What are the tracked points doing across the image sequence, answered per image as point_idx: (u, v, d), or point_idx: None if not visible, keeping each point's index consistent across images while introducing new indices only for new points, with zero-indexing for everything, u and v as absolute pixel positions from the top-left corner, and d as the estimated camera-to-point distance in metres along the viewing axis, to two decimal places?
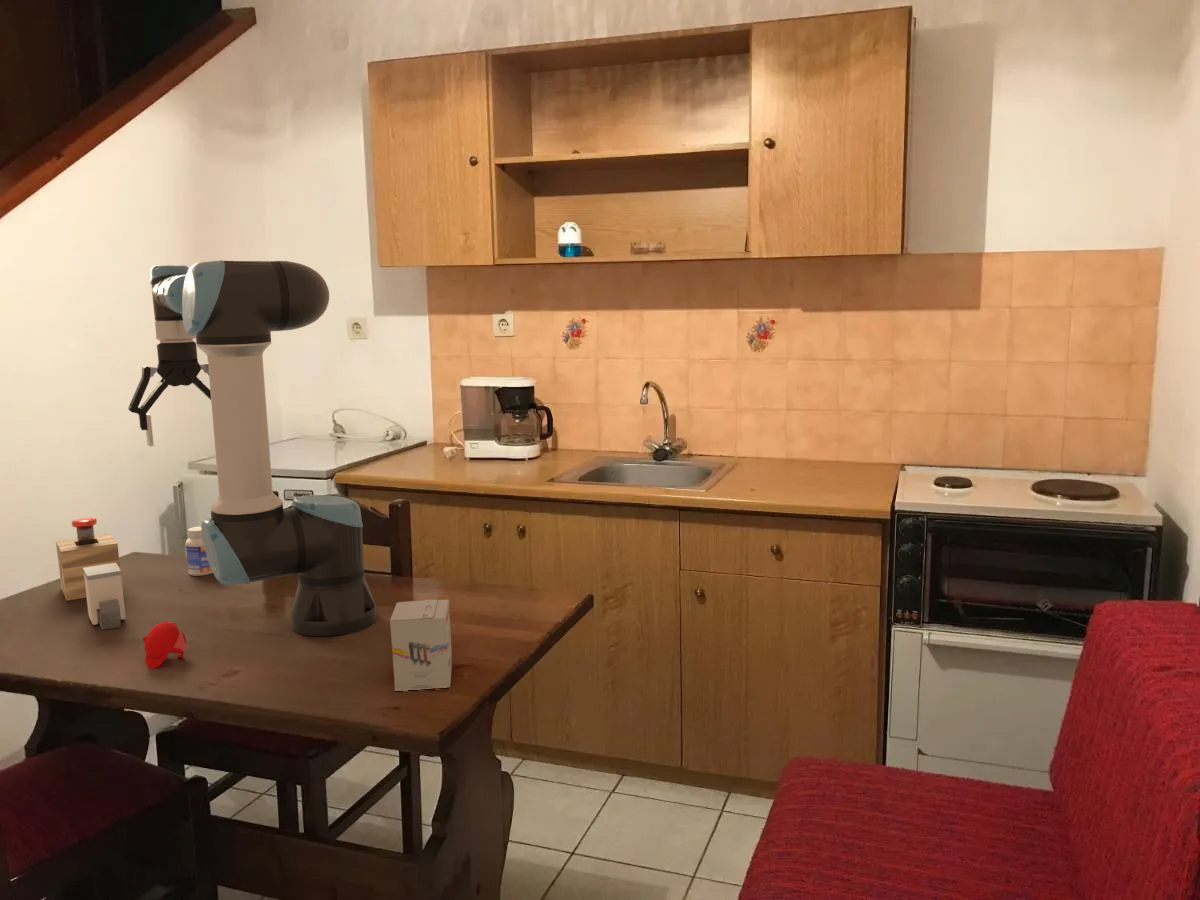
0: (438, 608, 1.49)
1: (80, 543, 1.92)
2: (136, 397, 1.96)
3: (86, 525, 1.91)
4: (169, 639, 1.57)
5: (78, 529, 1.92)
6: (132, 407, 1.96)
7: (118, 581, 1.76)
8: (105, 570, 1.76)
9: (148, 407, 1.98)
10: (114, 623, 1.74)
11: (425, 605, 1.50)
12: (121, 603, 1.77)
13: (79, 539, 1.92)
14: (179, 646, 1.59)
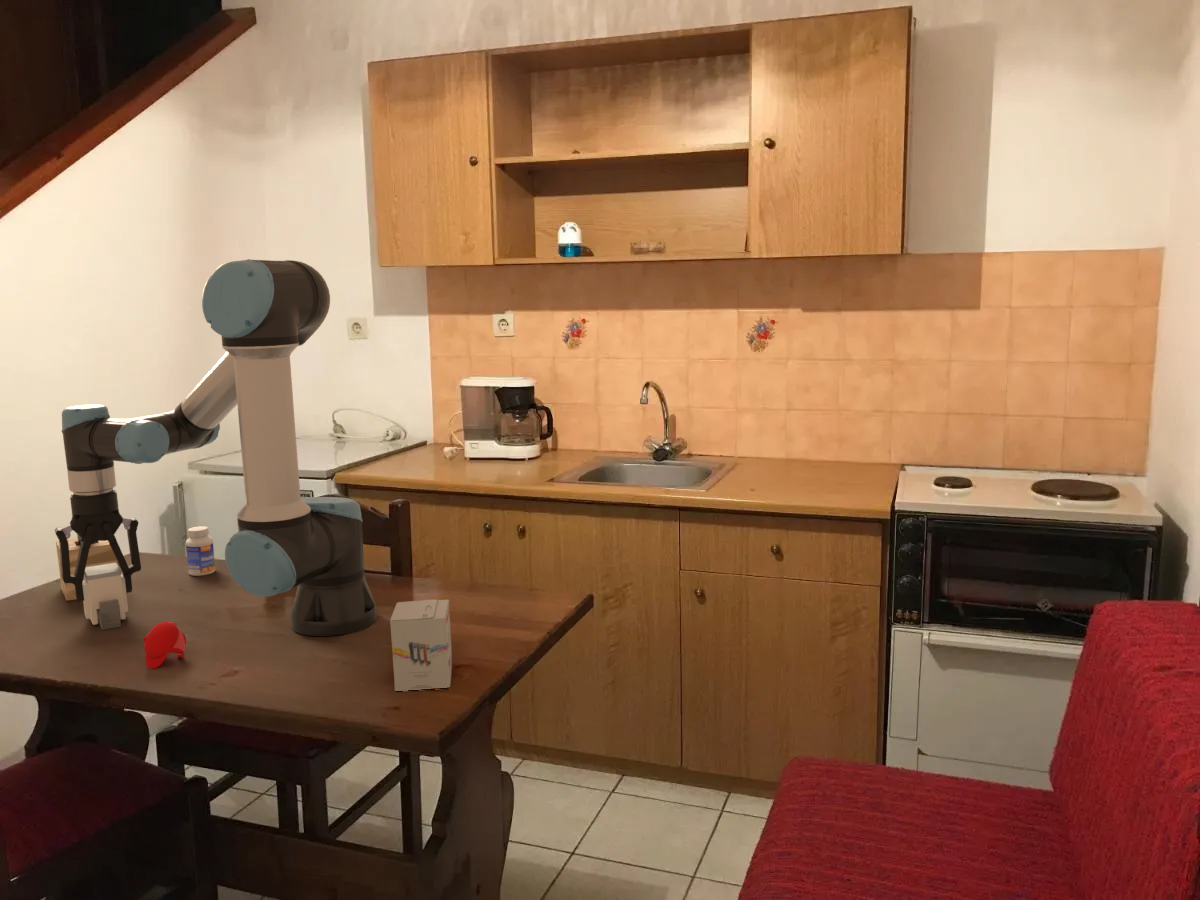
0: (438, 608, 1.49)
1: None
2: (63, 566, 1.72)
3: None
4: (169, 639, 1.57)
5: None
6: (64, 578, 1.72)
7: (118, 581, 1.76)
8: (105, 570, 1.76)
9: (81, 574, 1.74)
10: (114, 623, 1.74)
11: (425, 605, 1.50)
12: (121, 603, 1.77)
13: (79, 539, 1.92)
14: (179, 646, 1.59)
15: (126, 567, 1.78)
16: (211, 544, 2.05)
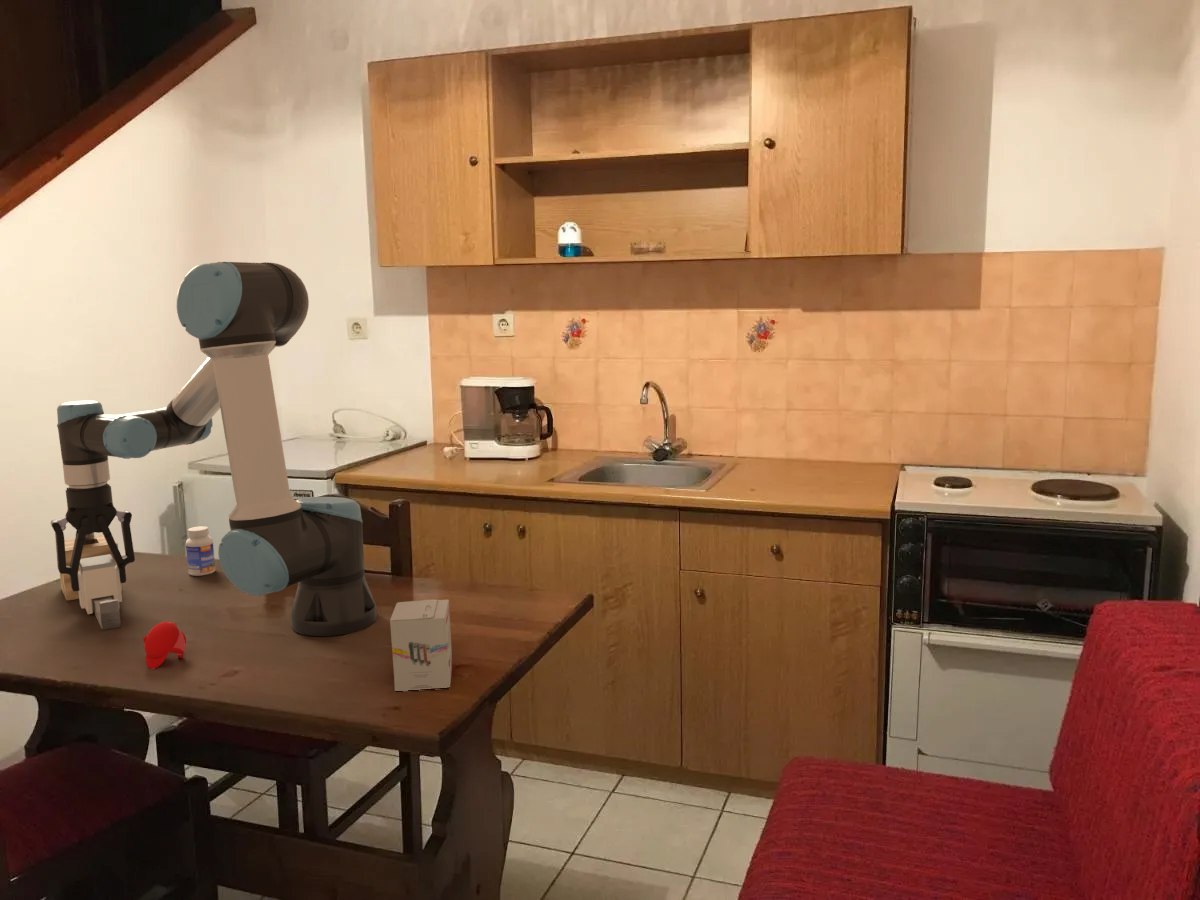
0: (438, 608, 1.49)
1: None
2: (59, 557, 1.78)
3: None
4: (169, 639, 1.57)
5: None
6: (60, 569, 1.78)
7: (112, 572, 1.81)
8: (100, 561, 1.82)
9: (77, 565, 1.80)
10: (114, 623, 1.74)
11: (425, 605, 1.50)
12: (115, 593, 1.82)
13: None
14: (179, 646, 1.59)
15: (120, 558, 1.84)
16: (211, 544, 2.05)
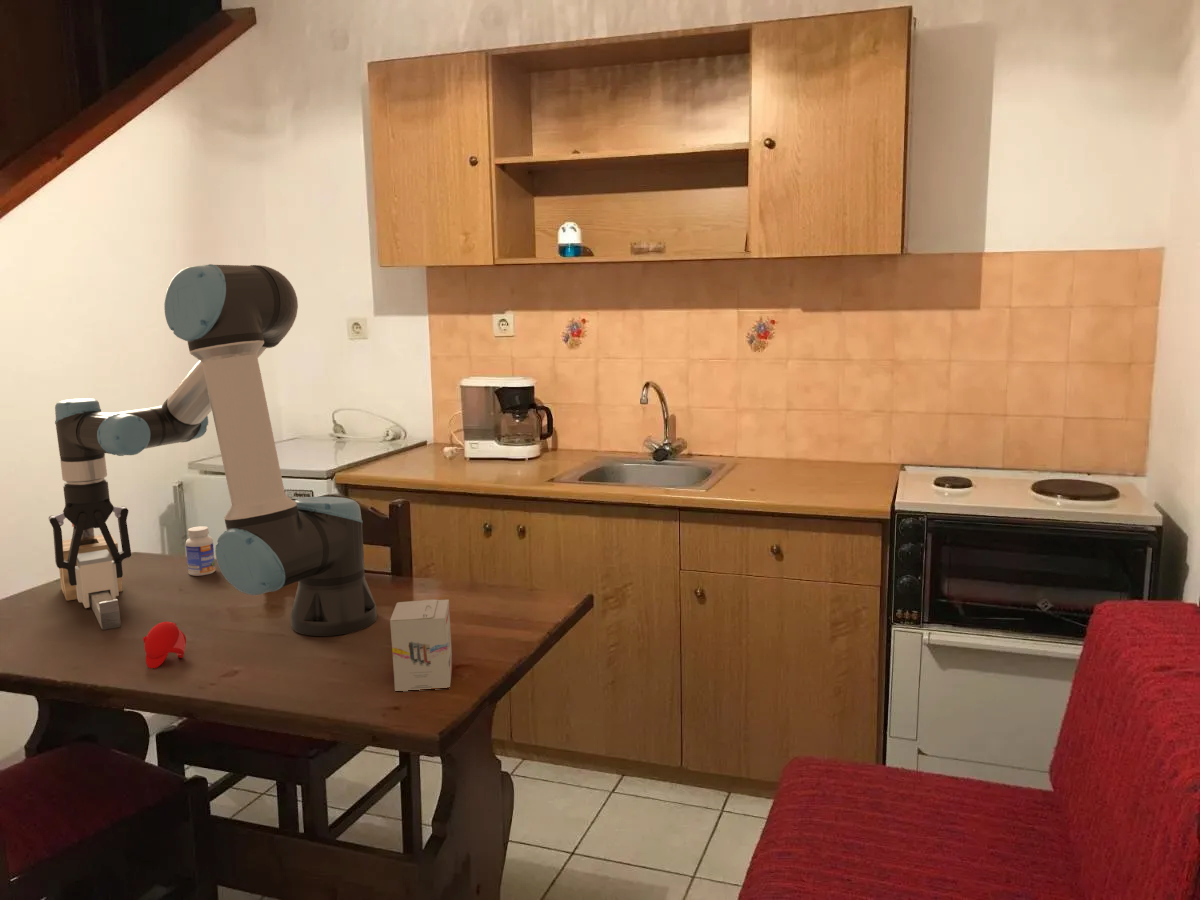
0: (438, 608, 1.49)
1: (80, 543, 1.92)
2: (57, 552, 1.81)
3: None
4: (169, 639, 1.57)
5: None
6: (58, 563, 1.81)
7: (109, 567, 1.85)
8: (97, 556, 1.85)
9: (74, 560, 1.83)
10: (114, 623, 1.74)
11: (425, 605, 1.50)
12: (112, 587, 1.86)
13: None
14: (179, 646, 1.59)
15: (117, 553, 1.87)
16: (211, 544, 2.05)
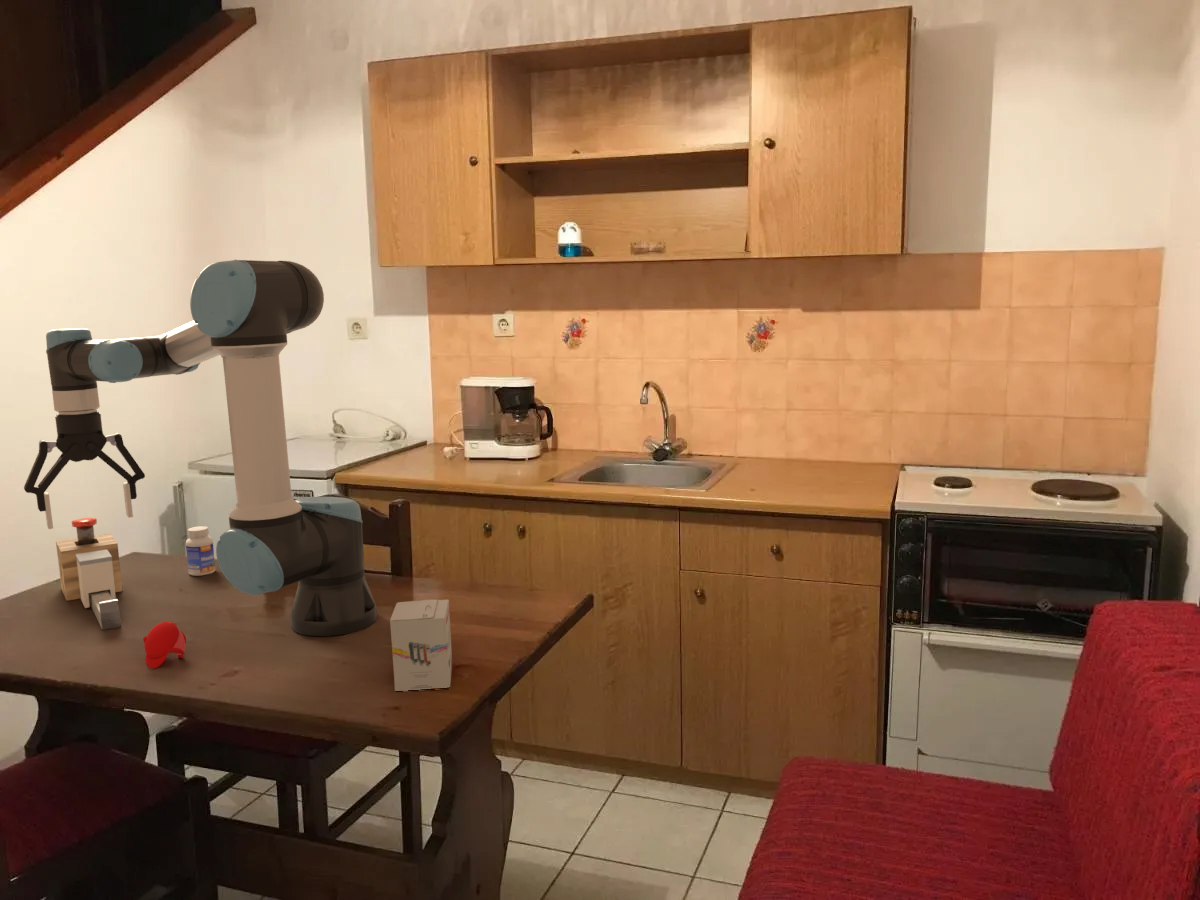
0: (438, 608, 1.49)
1: (80, 543, 1.92)
2: (31, 476, 1.77)
3: (86, 525, 1.91)
4: (169, 639, 1.57)
5: (78, 529, 1.92)
6: (27, 487, 1.77)
7: (109, 567, 1.85)
8: (97, 556, 1.85)
9: (46, 486, 1.78)
10: (114, 623, 1.74)
11: (425, 605, 1.50)
12: (112, 587, 1.86)
13: (79, 539, 1.92)
14: (179, 646, 1.59)
15: (128, 475, 1.86)
16: (211, 544, 2.05)
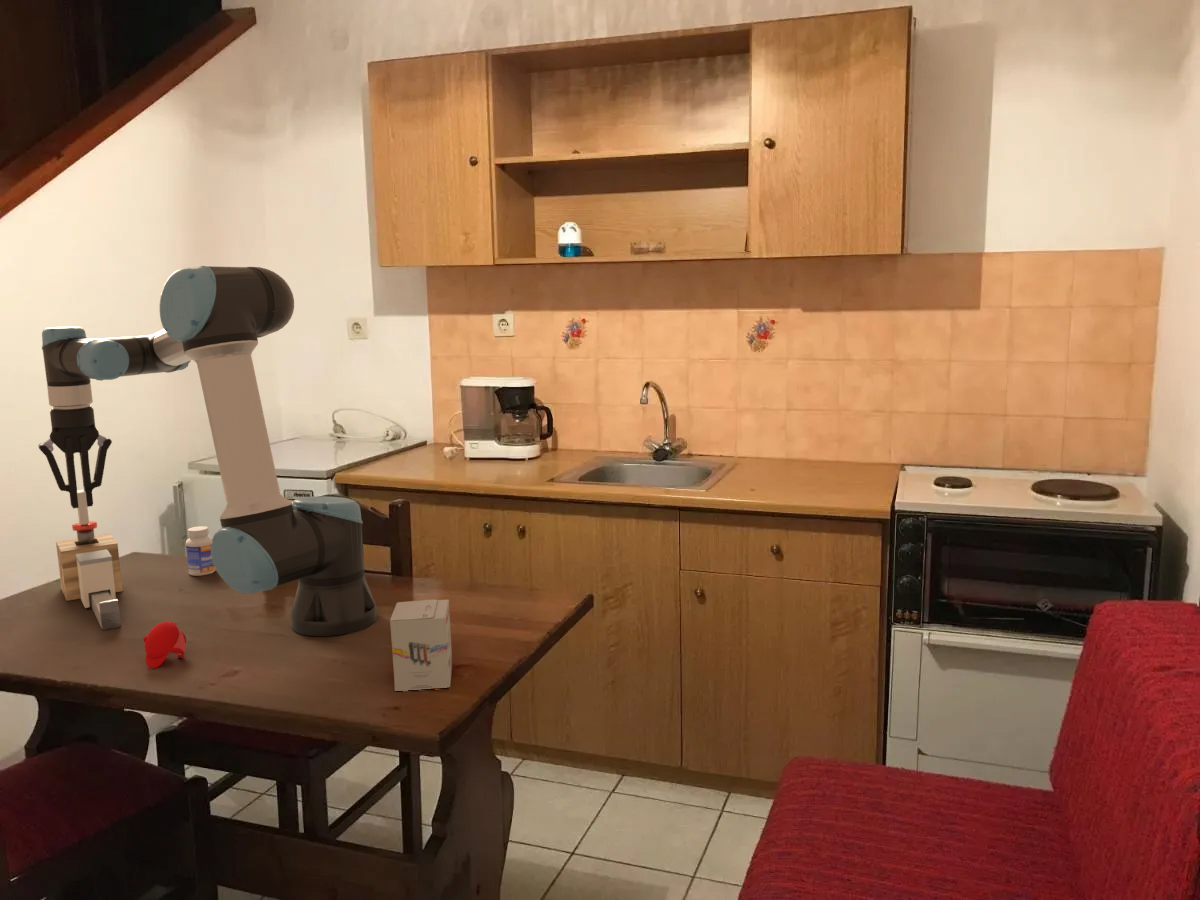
0: (438, 608, 1.49)
1: None
2: (56, 476, 1.88)
3: (86, 529, 1.92)
4: (169, 639, 1.57)
5: (78, 533, 1.92)
6: (60, 486, 1.89)
7: (109, 567, 1.85)
8: (97, 556, 1.85)
9: (74, 483, 1.90)
10: (114, 623, 1.74)
11: (425, 605, 1.50)
12: (112, 587, 1.86)
13: (79, 543, 1.92)
14: (179, 646, 1.59)
15: (89, 482, 1.91)
16: None
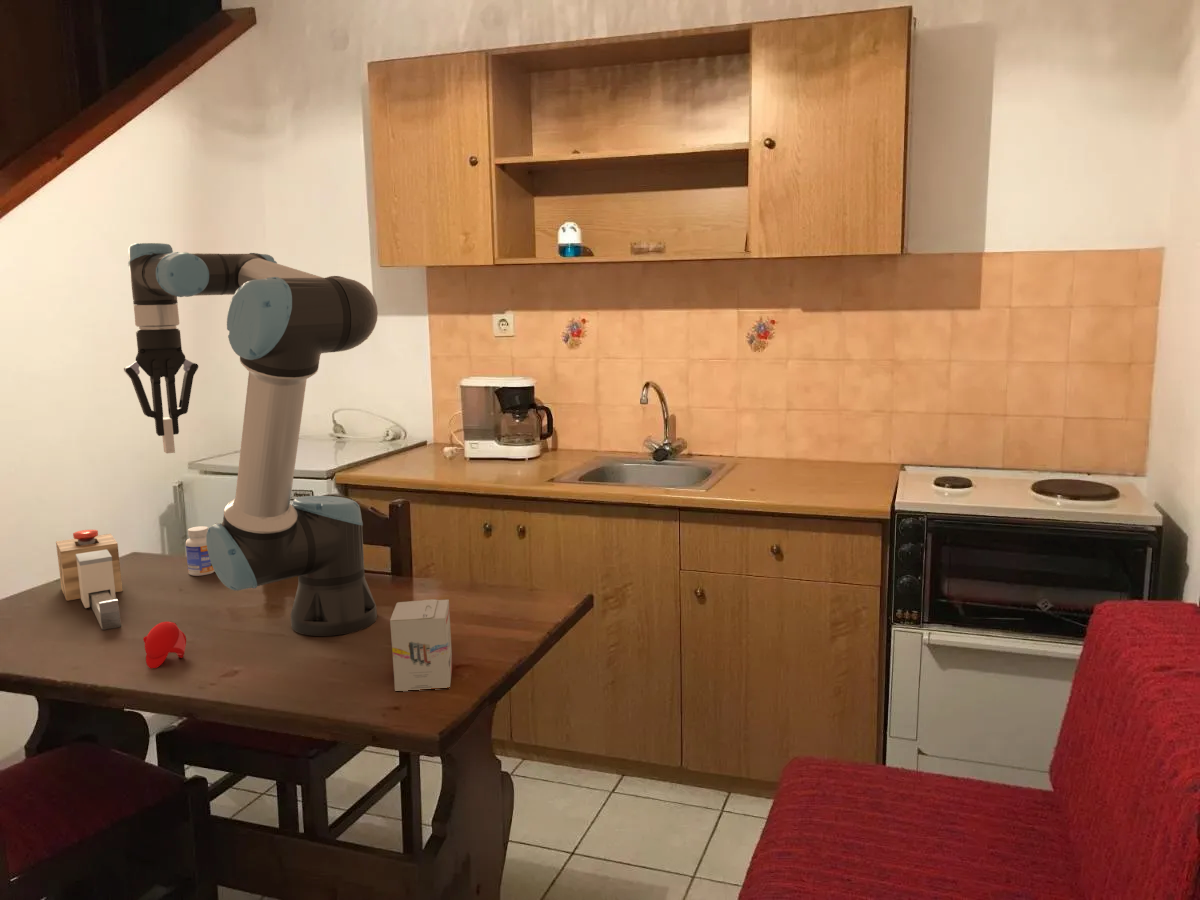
0: (438, 608, 1.49)
1: None
2: (142, 401, 1.79)
3: (87, 537, 1.92)
4: (169, 639, 1.57)
5: (79, 541, 1.92)
6: (146, 412, 1.80)
7: (109, 567, 1.85)
8: (97, 556, 1.85)
9: (160, 409, 1.81)
10: (114, 623, 1.74)
11: (425, 605, 1.50)
12: (112, 587, 1.86)
13: None
14: (179, 646, 1.59)
15: (175, 408, 1.83)
16: None
